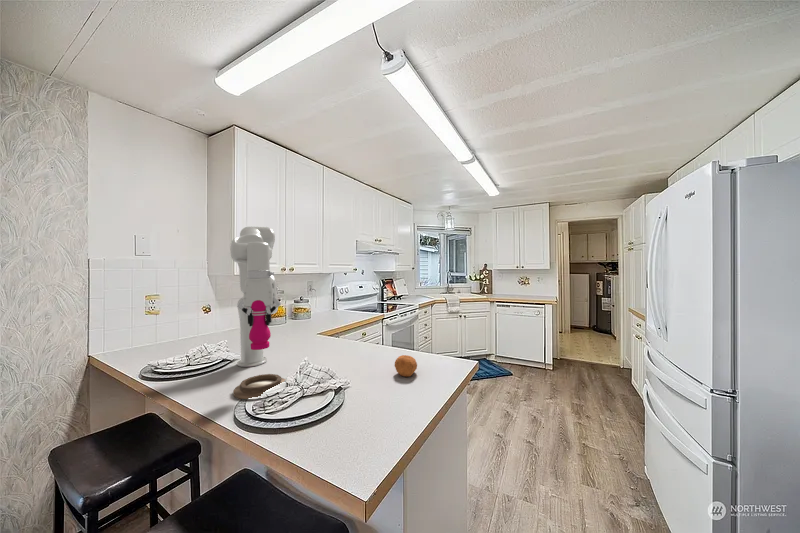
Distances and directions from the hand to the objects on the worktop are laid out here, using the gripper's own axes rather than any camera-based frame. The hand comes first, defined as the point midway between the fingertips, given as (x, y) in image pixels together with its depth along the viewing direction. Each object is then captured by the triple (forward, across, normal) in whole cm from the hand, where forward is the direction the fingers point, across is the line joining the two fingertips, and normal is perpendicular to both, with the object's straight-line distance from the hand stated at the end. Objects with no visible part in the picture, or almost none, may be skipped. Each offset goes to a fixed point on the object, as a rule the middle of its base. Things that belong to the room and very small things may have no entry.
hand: (259, 324), depth 110 cm
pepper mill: (+9, 0, 0) cm, 9 cm away
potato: (+24, -55, 0) cm, 60 cm away
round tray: (+24, 0, 0) cm, 24 cm away
